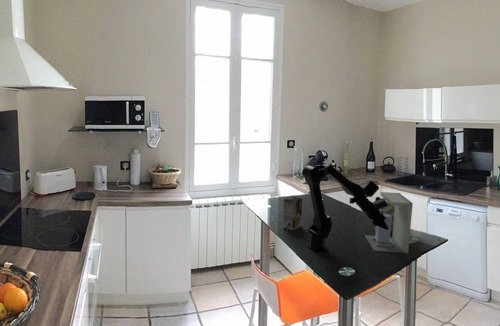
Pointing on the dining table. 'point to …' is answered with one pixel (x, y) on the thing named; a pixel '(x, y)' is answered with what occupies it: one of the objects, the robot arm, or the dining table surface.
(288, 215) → the coffee box
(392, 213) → the candy bar box
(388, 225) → the tall gray box
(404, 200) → the white open shelf
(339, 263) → the dining table surface
